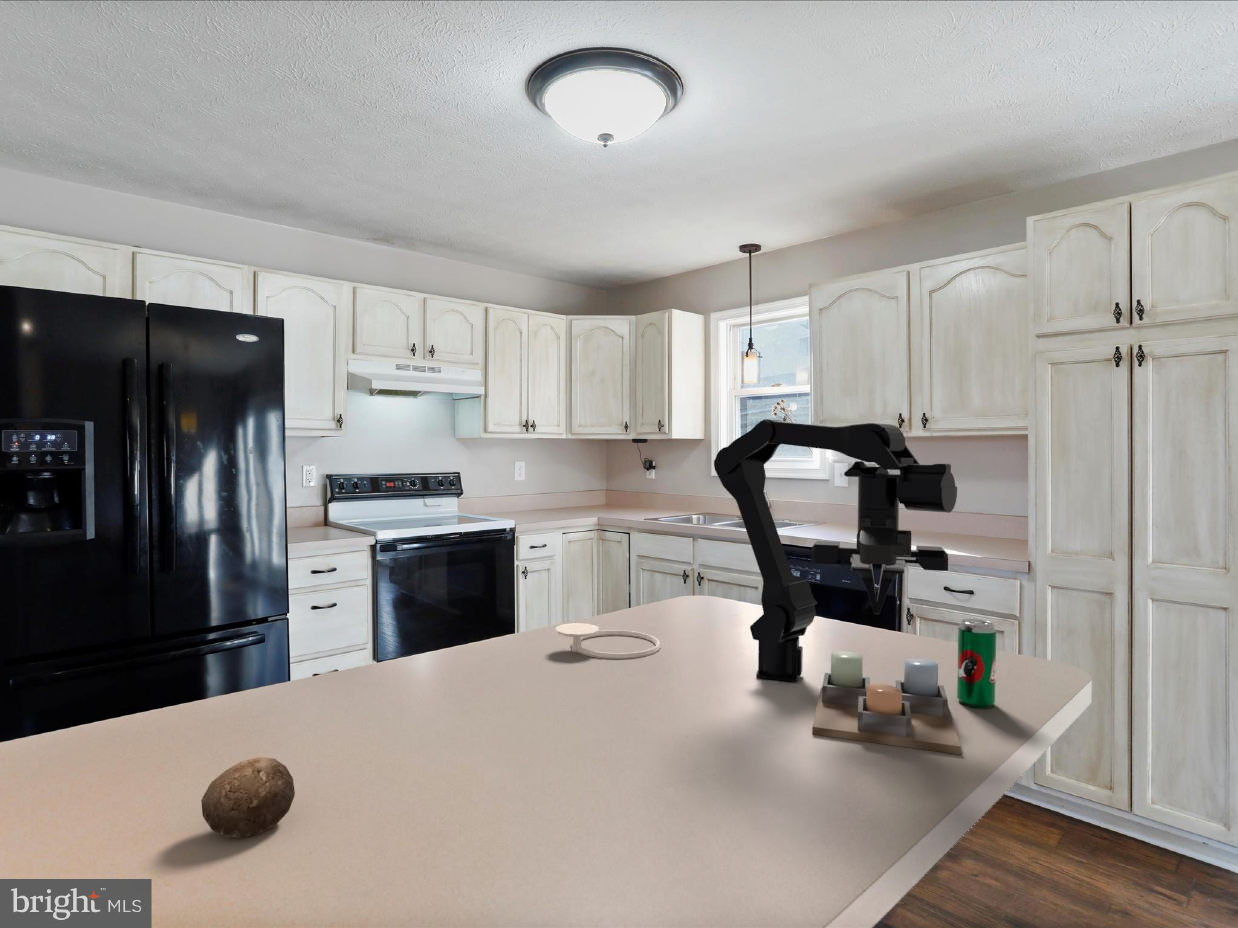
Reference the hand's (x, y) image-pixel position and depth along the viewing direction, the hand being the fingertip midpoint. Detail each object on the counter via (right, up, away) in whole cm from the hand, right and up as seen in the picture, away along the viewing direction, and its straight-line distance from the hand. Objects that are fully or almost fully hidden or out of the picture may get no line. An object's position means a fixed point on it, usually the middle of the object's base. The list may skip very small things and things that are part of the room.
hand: (876, 613), depth 106 cm
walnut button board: (-2, -13, -8) cm, 15 cm away
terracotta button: (-3, -12, -12) cm, 17 cm away
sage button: (-5, -10, -2) cm, 11 cm away
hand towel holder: (-40, -13, +28) cm, 51 cm away
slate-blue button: (+4, -10, -5) cm, 12 cm away
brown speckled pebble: (-74, -14, -36) cm, 84 cm away
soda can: (+14, -13, -1) cm, 20 cm away
